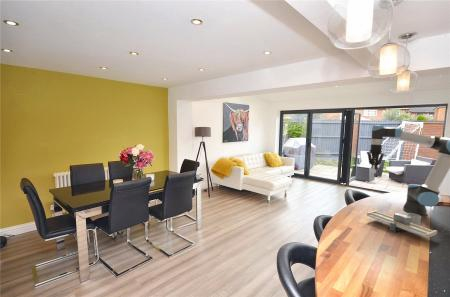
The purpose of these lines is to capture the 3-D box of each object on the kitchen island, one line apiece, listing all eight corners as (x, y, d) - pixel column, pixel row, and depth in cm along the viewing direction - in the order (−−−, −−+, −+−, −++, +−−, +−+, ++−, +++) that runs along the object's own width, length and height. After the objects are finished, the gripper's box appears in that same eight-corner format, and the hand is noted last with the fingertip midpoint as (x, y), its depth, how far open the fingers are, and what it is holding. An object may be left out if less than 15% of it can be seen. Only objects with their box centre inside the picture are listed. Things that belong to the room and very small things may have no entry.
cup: (417, 230, 152) (419, 218, 151) (400, 225, 160) (401, 213, 159) (421, 228, 156) (422, 215, 155) (403, 222, 164) (404, 211, 163)
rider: (396, 220, 155) (397, 212, 155) (409, 225, 148) (410, 217, 148) (393, 221, 154) (394, 213, 153) (406, 226, 147) (407, 218, 146)
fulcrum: (401, 226, 158) (402, 218, 157) (406, 228, 155) (407, 220, 154) (389, 230, 151) (390, 222, 150) (394, 232, 148) (395, 224, 148)
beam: (376, 212, 171) (376, 210, 171) (436, 234, 139) (437, 230, 139) (366, 215, 166) (366, 212, 165) (427, 238, 134) (428, 234, 134)
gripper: (365, 143, 184) (363, 171, 186) (382, 145, 172) (379, 175, 175) (370, 143, 187) (368, 171, 190) (387, 144, 176) (385, 174, 178)
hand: (373, 173), depth 182 cm, fingers closed
